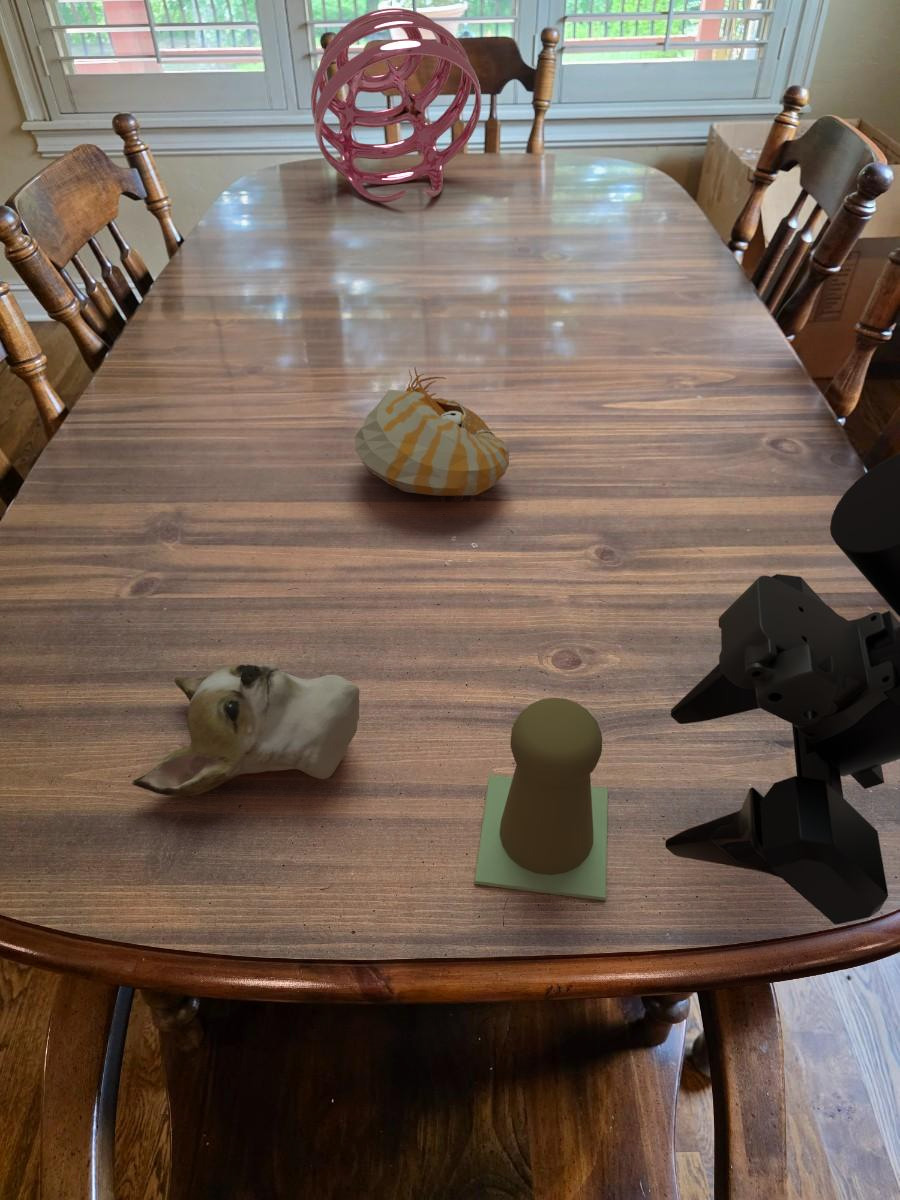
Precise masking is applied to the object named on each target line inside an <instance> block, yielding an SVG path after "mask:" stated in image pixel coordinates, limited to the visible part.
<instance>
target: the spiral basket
mask: <svg viewBox="0 0 900 1200" xmlns="http://www.w3.org/2000/svg"><path fill="white" fill-rule="evenodd" d="M391 29H401V30H402V31H404V33H405V35H406V37H407V38H404V39H403V38H402V39H397V40H396V39H395V40H391V41H387V42H384V43H381V44H378V45H377V44H376V45H375V46H372V47H370V48H368V49H366V50H364V51H362V52H360V53H358V54H357V55H355V56H354V57H352V58H351V59H349V50H350V47H351V46H352V45H354V44H355V43H357V42H358V41H360V40H362V39H365V38H367V37H368V36H370V35H373V34H376V33H379V32H382V31H386V30H391ZM420 29H422V30H426V31H429V32H430V31H431V33H432V35H433V36H434V38H435V40H430V39H425V38H423V35H422V33H421V30H420ZM450 43H451V44H452V45H453V46H454V47H455V49H454V48H453V47H451V45H450ZM423 56H428V57H435V58H437V64H436V66H435V70H434V72H433V74H432V76H431V77H430V79H429V81H428V82H427V83H426V84H425V86H424V87H423V88H422V89H421V90H420V91H419V92H418V93H416V94H414V93H412V91H410V89H409V87H408V84H407V82H408V80H409V79H410V78H411V77H412V76H413V75H414V74H415V72H416V71H417V70H418V68H419V66H420V63H421V62H422V59H423ZM399 57H405V58H404V59H403V60H402V62H401V63H400V64H399V65H398V66H395V64H393V63H392V61H391V60H390V59H394V58H395V59H396V58H399ZM334 61H335V67H336V70H337V71H336V72H335V73H334V74H333V75H332V76H331V78H330V79H328V74H327V73H328V72H327V71H328V69H329V67H330V66H331V64H332V63H333V62H334ZM384 61H385V63H386V65H387V68H388V72H387V73H385V74H381V75H366V74H365V72H366V69H369V68H370V67H372V66H375V65H377V64H379V63H382V62H384ZM452 64H454V65H455V66H457V67H458V68H460V69H461V79H460V83H459V86H458V90H457V92H456V94H455V96H454V98H453V100H452V101H451V103H450V105H449V106H448V107H447V109H446V110H445V111H444V112H443V113H442V115H440V117H438V118H437V119H436V120H435V121H434V122H432V123H428V122H427V121H426V119H425V117H424V113H425V110H426V109H427V107H429V106H430V105H431V104H432V103H433V102H434V101H435V100H436V99H437V98H438V96H439V95H440V94H441V92H442V90H443V89H444V87H445V85H446V84H447V81H448V79H449V76H450V72H451V68H452ZM311 85H312V86H311V91H310V109H311V114H312V119H313V129H314V135H315V139H316V143H317V145H318V148H319V150H320V152H321V154H322V155H323V157H324V159H325V160H326V161H327V163H328V164H329V166H331V167H332V168H333V169H334V170H336V171H337V172H338V173H339V174H341V175H342V176H343V177H345V178H346V180H348V182H349V183H350V184H351V185H352V187H353V188H354V190H356V192H357V193H358V194H360V195H361V196H362V197H364V198H365V199H367V200H369V201H371V202H373V203H374V202H375V203H381V204H388V203H392V202H396V201H398V200H400V199H402V198H403V197H404V196H406V195H407V190H406V189H405V190H401V191H398V192H396V193H394V194H390V195H384V196H381V195H375V194H372V193H371V192H369V191H368V190H367V189H366V188H365V186H364V185H363V184H370V185H377V186H378V185H381V186H382V185H383V186H384V185H395V184H396V185H397V184H402V183H406V182H410V181H413V180H416V179H420V178H422V177H428V178H429V180H430V184H431V186H430V187H431V189H430V188H428V187H424V189H423V190H424V193H425V194H426V195H427V196H428V197H430V198H435V197H437V196H438V195H439V194H440V193H442V190H443V186H444V175H443V174H444V173H443V169H444V168H445V166H446V165H447V163H449V162H450V161H451V160H452V159H453V158H454V157H455V156H456V155H458V154H459V153H460V152H461V150H462V149H463V148H464V147H465V146H466V145H467V143H468V142H469V141H470V139H471V137H472V136H473V135H474V132H475V130H476V128H477V125H478V123H479V120H480V116H481V112H482V91H481V90H482V89H481V85H480V82H479V78H478V76H477V73H476V71H475V69H474V68H473V66H472V65H471V62H470V59H469V57H468V54H467V52H466V50H465V48H464V47H463V45H462V44H461V42H460V41H459V40H458V39H457V37H456V36H455V35H454V34H453V33H452V32H450V31H449V30H448V29H447V28H445V27H444V26H442V25H440V24H438V23H437V22H435V21H434V20H432V19H431V18H430V17H428V16H426V15H424V14H422V13H420V12H418V11H415V10H411V9H407V8H397V7H396V8H395V7H393V8H381V9H377V10H373V11H370V12H367V13H365V14H363V15H360V16H358V17H356V18H354V19H353V20H351V21H350V22H349V23H347V24H346V25H345V26H343V27H342V28H341V29H340V30H339V31H338V32H336V33H335V35H334V36H333V38H332V39H331V40H330V42H328V44H327V46H326V48H325V50H324V51H323V54H322V56H321V59H320V63H319V66H318V68H317V70H316V72H315V76H314V77H313V81H312V84H311ZM345 85H347V87H348V91H347V95H346V98H345V99H344V100H341V99H339V98H338V97H337V94H338V92H339V91H341V89H342V88H343V87H344V86H345ZM472 85H473V89H474V105H473V109H472V112H471V114H470V117H469V119H468V121H467V123H466V125H465V126H464V128H463V130H462V131H461V132H460V134H459V135H457V137H456V138H455V140H453V142H451V143H450V144H449V145H448V146H447V147H446V148H445V149H442V150H438V148H437V141H438V139H439V138H440V137H441V136H443V135H444V134H445V132H447V131H448V130H449V129H450V128H451V127H452V126H453V125H454V123H456V121H457V119H458V118H459V117H460V116H461V114H462V112H463V110H464V108H465V106H466V105H467V102H468V99H469V96H470V93H471V89H472ZM318 90H319V91H318ZM389 90H397V92H398V93H399V95H400V97H401V98H400V99H401V102H400V103H399V105H397V106H394V107H391V108H386V109H380V110H366V109H365V110H364V109H360V108H358V107H357V105H356V101H357V96H358V94H359V93H361V92H363V93H369V94H374V93H383V92H387V91H389ZM318 92H319V94H320V95H319V97H318ZM317 97H318V99H317ZM327 109H328V110H329V111H330V112H331V113H332V114H333V115H335V116H336V118H337V119H338V121H339V132H338V133H337V132H335V131H334V130H332V128H330V127H329V126H328V125H327V123H326V122H325V120H324V119H325V115H326V112H327ZM402 122H409V123H410V124H411V125H412V128H413V133H412V134H411V135H410V136H409V137H407V138H404V139H401V140H397V141H393V142H388V143H387V142H386V143H375V144H373V143H372V144H371V143H370V144H369V143H363V142H358V141H356V140H355V139H354V137H353V135H352V134H353V133H352V132H353V129H354V127H362V128H383V127H388V126H393V125H397V124H399V123H402ZM323 139H324V140H325V141H326V142H327V143H328V144H329V145H331V146H332V147H333V148H334V149H335V150H336V151H337V152H338V153H339V156H340V160H341V161H339V160H338V159H336V158H335V157H334V156H333V155H332V154H331V152H329V151H328V149H327V147H326V146H325V143H324V140H323ZM415 152H420V153H421V154H422V156H423V159H422V161H421V162H420V163H419V164H416V165H414V166H411V167H409V168H405V169H404V168H403V169H401V170H395V171H389V172H373V171H371V172H370V171H364V170H361V169H359V168H358V167H357V166H356V164H355V159H357V158H358V159H359V158H360V159H367V160H386V159H393V158H398V157H401V156H402V157H403V156H405V155H407V154H411V153H415Z"/></svg>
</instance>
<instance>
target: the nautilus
mask: <svg viewBox="0 0 900 1200" xmlns="http://www.w3.org/2000/svg"><path fill="white" fill-rule="evenodd" d="M416 368H417V367H416V366H414V375H415V378H414V379H413V375H412V374H411V369H408V373H409V377H410V380H409V381H410V382H409V383H408V384H407V388H406V390H398V389H397V390H396V389H388V390H387V392H386V393H385V394H384V396H383V397H382V398H381V399H380V401H379V402H378V404H377V405H376V406H375V407H374V408H373V409H372V410H371V411H369V413H368V414H367V415H366V416H365V419H364V421H363V424H362V426H361V427H360V429H359V430H358V432H357V433H356V434H355V436H354V450H355V452H356V454H357V456H358V457H359V459H360V461H361V462H362V464H364V465H365V466H366V467H367V470H369V471H370V472H371V473H372V474H374V475H375V476H376V477H378V478H380V479H381V480H382V481H384V482H385V483H386V484H389V485H391V486H393V487H394V488H397V489H399V490H401V491H402V492H404V493H412V494H420V495H426V496H427V495H428V496H437V497H438V496H440V497H441V496H442V497H443V496H444V497H446V496H448V497H449V496H451V497H454V496H477V495H479V494H482V493H483V492H485V491H487V490H488V489H490V488H491V487H493V486H494V485H496V484H497V483H498V482H499V481H500V479H501V478H502V477H503V476H504V475H505V474H506V472H507V469H508V468H509V465H510V450H509V448H508V446H507V444H506V443H505V442H504V440H502V439H500V438H499V437H497V436H496V435H495V434H494V433H493V431H491V430H490V428H489V426H488V425H487V424H486V422H485V421H484V420H483V419H482V418H481V417H479V415H477V413H476V412H474V411H472V410H470V409H469V408H466V407H465V406H463V405H462V404H460V403H458V402H457V401H455V400H448V399H445V398H442V397H438V398H437V397H436V398H435V397H434V398H432V397H433V396H435V395H436V394H437V392H434V393H431V394H429V393H428V392H429V390H427V388H428V387H429V386H430V385H432V384H434V383H436V382H437V380H436V379H444V380H446V379H447V378H446V377H443V376H430V377H426V378H422V379H419V378H420V377H422V376H424V375H425V373H421V374H419V375H418V372H417V369H416ZM434 379H435V380H434ZM429 380H430V381H431V380H433V381H431V382H429V383H427V384H426V385H425V386H424V387H423V385H422V382H426V381H429Z"/></svg>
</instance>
